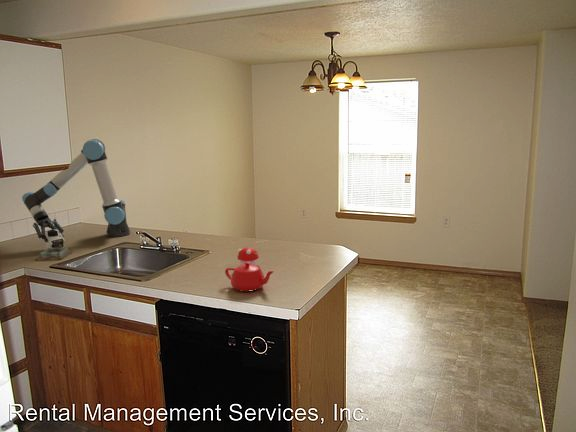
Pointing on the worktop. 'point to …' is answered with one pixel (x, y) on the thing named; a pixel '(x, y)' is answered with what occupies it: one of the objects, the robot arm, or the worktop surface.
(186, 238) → the worktop surface
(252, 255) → the mushroom
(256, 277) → the teapot
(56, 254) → the collar board
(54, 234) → the medicine bottle
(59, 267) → the worktop surface
